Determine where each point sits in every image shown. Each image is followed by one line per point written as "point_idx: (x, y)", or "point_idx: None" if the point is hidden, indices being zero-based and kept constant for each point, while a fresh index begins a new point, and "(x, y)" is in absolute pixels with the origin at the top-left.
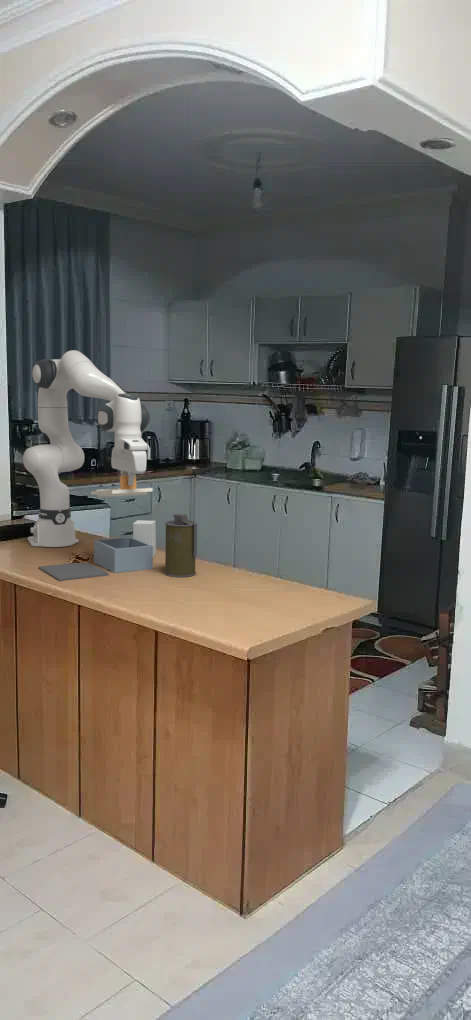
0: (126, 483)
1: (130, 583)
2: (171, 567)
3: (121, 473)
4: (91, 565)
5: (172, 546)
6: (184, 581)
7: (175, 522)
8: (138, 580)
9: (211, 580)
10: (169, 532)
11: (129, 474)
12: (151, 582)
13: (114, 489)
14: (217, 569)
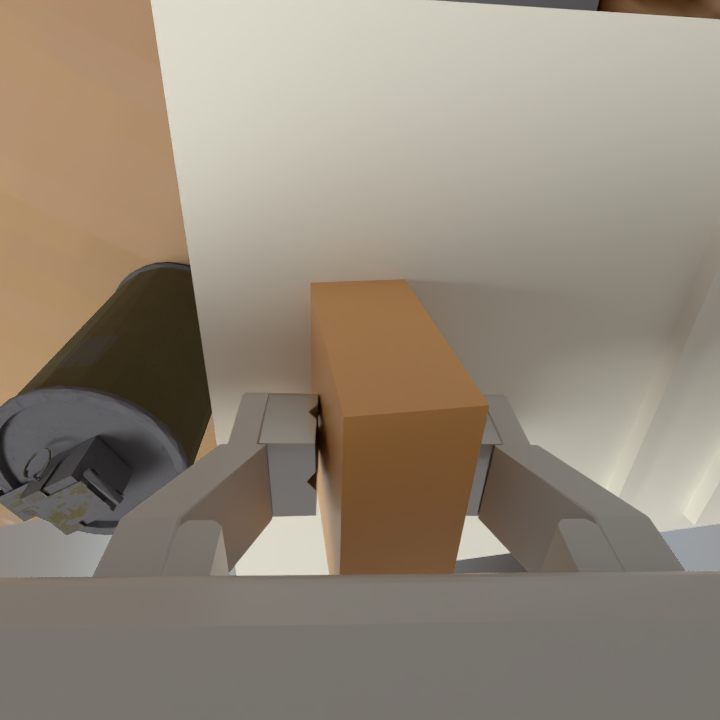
0: (321, 394)
1: (57, 27)
2: (127, 285)
3: (596, 516)
4: (493, 3)
5: (80, 333)
6: (43, 276)
7: (84, 445)
8: (111, 100)
9: (38, 367)
10: (65, 366)
11: (127, 538)
12: (55, 140)
13: (687, 310)
14: (200, 453)
